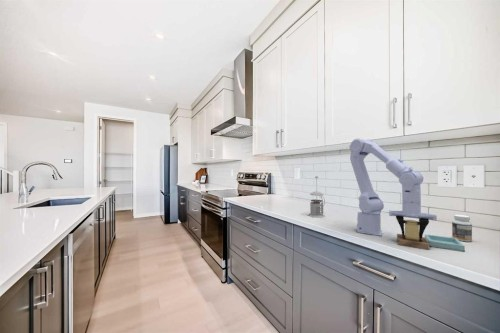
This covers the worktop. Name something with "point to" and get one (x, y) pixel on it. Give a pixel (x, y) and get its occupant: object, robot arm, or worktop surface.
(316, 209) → the french press
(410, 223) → the brass pin
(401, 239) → the holder block
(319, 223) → the worktop surface
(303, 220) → the worktop surface
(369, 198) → the robot arm
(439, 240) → the tray
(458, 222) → the pill bottle
